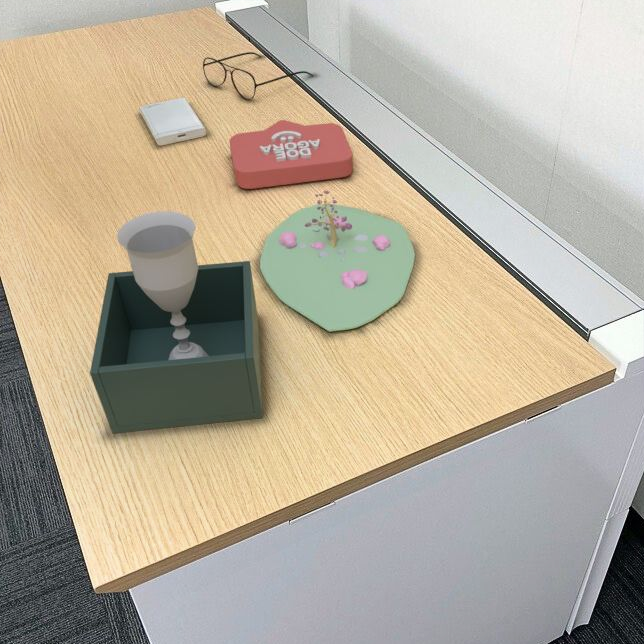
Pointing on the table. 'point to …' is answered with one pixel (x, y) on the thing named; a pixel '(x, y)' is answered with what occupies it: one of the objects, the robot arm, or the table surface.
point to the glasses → (243, 71)
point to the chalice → (165, 267)
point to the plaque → (290, 154)
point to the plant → (338, 264)
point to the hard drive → (172, 121)
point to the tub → (181, 374)
